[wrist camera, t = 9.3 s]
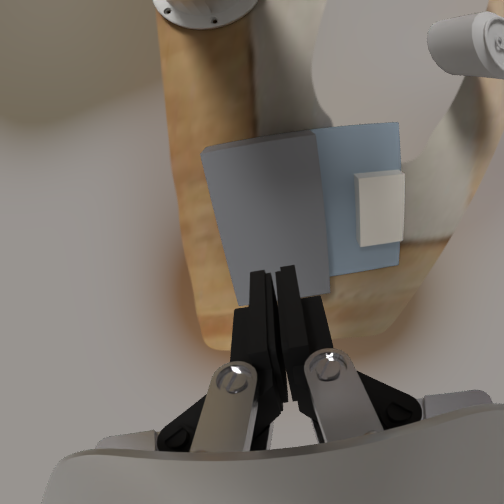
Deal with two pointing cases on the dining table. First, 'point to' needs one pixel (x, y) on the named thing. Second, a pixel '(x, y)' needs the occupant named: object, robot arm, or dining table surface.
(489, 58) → the can
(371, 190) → the tile
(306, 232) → the panel
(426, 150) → the dining table surface
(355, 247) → the mat
